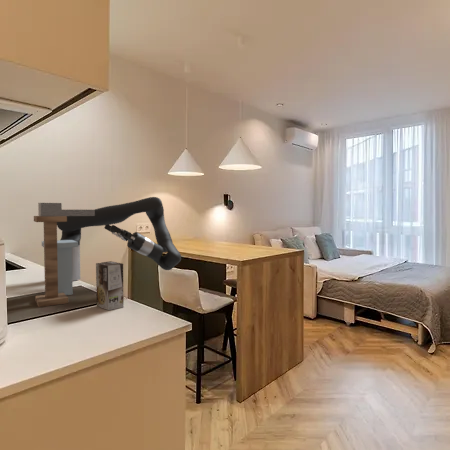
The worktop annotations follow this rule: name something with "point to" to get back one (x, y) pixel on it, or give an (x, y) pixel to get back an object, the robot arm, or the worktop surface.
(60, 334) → the worktop surface
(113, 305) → the coffee box
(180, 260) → the robot arm
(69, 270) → the slate stand
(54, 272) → the wooden pedestal stand
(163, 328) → the worktop surface
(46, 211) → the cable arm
